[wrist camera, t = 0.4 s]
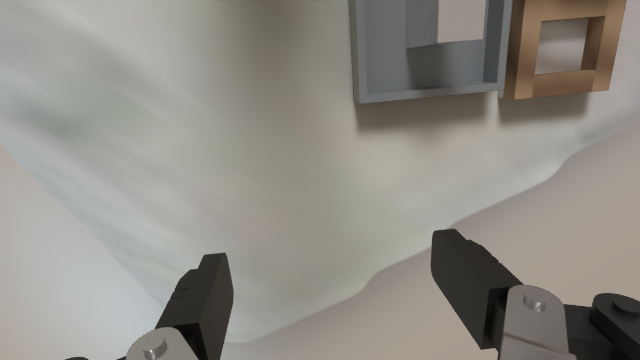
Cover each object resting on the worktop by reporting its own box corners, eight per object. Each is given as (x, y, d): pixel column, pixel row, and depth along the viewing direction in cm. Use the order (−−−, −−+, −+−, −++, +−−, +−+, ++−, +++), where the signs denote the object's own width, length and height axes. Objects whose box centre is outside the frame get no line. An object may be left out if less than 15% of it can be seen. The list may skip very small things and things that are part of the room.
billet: (405, 48, 35) (438, 42, 27) (405, -9, 33) (441, -33, 25) (441, 45, 35) (484, 38, 28) (443, -12, 33) (489, -37, 26)
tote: (345, -61, 32) (352, -76, 29) (497, -71, 33) (521, -87, 30) (353, 100, 37) (359, 103, 34) (484, 88, 38) (503, 89, 35)
